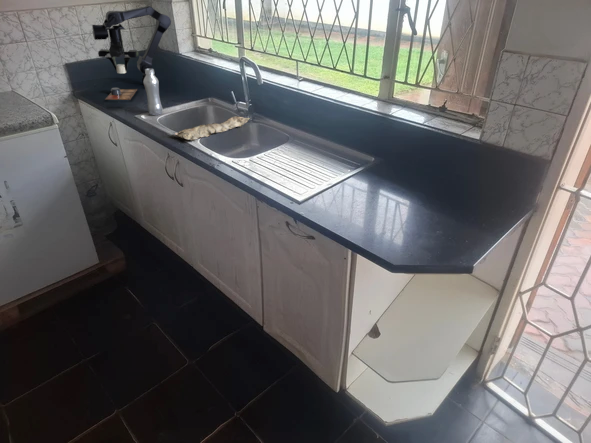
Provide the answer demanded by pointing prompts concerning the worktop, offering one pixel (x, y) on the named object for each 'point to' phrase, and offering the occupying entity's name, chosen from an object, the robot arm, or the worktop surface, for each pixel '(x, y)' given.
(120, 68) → the white lidded jar
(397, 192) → the worktop surface
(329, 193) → the worktop surface
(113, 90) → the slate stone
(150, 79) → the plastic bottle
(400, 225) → the worktop surface
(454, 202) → the worktop surface
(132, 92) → the wooden grid board
